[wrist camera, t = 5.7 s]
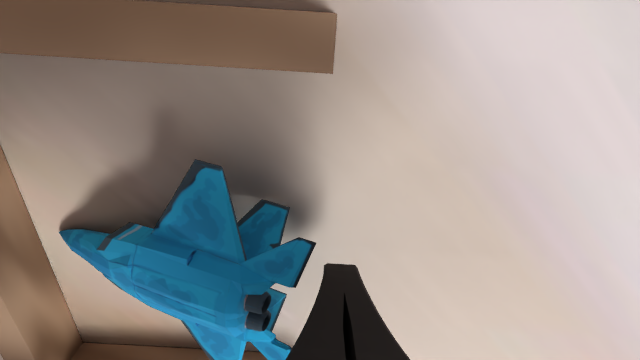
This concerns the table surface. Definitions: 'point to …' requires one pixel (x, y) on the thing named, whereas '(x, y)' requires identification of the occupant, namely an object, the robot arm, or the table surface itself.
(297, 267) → the toy airplane
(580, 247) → the table surface
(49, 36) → the brown wooden u shape
